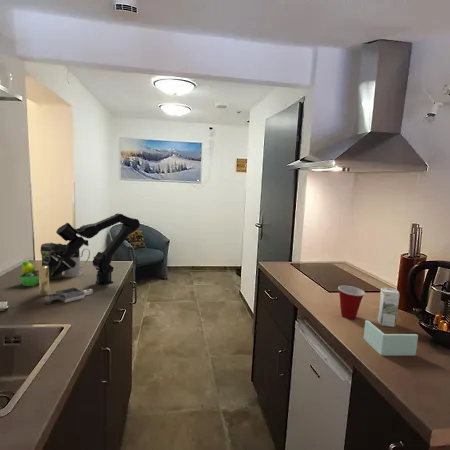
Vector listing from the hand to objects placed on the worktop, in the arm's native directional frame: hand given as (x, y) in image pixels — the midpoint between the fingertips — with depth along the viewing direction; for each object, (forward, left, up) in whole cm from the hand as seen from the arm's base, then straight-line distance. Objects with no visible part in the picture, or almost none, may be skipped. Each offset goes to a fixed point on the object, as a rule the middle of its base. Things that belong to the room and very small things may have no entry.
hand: (48, 273), depth 156 cm
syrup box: (-77, +126, -10) cm, 148 cm away
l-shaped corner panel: (-57, +132, -10) cm, 144 cm away
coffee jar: (-12, -24, -10) cm, 29 cm away
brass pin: (+2, 0, -10) cm, 10 cm away
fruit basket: (-1, -21, -10) cm, 23 cm away
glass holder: (-25, -22, -10) cm, 35 cm away
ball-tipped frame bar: (-4, +12, -10) cm, 16 cm away
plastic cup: (-74, +112, -10) cm, 134 cm away
